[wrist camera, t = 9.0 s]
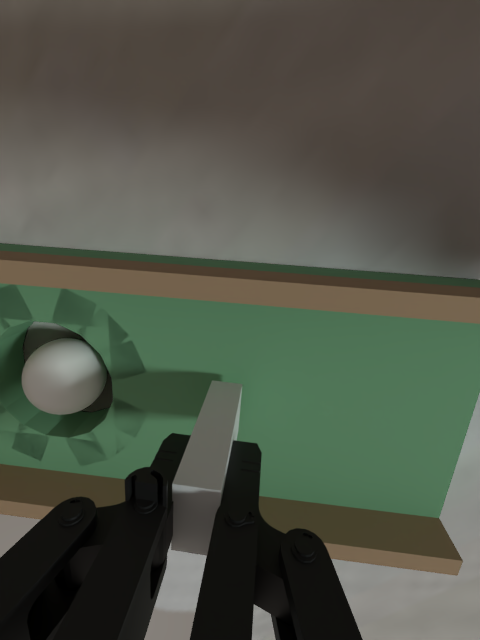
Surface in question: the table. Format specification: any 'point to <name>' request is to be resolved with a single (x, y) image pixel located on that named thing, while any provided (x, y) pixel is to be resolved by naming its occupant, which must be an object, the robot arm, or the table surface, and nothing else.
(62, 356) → the ball
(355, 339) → the green
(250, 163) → the table surface
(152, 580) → the robot arm
